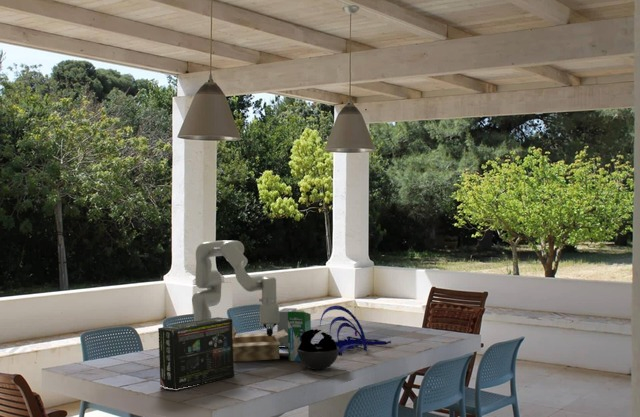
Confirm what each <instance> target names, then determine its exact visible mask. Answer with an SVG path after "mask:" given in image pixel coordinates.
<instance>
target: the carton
mask: <svg viewBox="0 0 640 417" xmlns="http://www.w3.org/2000/svg"><path fill="white" fill-rule="evenodd" d="M279 345H281V344H280V342H279V340H278V339H277V337H276V336H275V333H273V335H272V337H271V336H270V337H268V335H267V332H266V333H264V332H263V333H244V334H243V333H242V334H236V335H235V338H234V341H233V362H234V363H235V362H249V361H250V362H252V361H267V360H268V361H269V360H280V348H279Z"/></svg>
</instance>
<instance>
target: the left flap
mask: <svg viewBox="0 0 640 417" xmlns="http://www.w3.org/2000/svg"><path fill="white" fill-rule="evenodd" d="M235 335H237V330H236V328H235V326H233V325H232V336H233V341H234V338H235Z"/></svg>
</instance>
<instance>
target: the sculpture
mask: <svg viewBox="0 0 640 417" xmlns="http://www.w3.org/2000/svg"><path fill="white" fill-rule="evenodd" d="M332 310H333V311H334V310H337V311H343V312H344V313H347V314H348V315H349V316H350V317H351V318H352V319H353V321H354V322H355V323H356V325H357V327H358V329H357V327H356V326H355V324H354V323H352V321H350V320H349V319H348V318H347V317H345V316H336V317H335V318H333V319H332V320H331V321H330V324H329V325H330V326H329V332H331V330H332V326H333V324H335V323H336V322H338V321H343V322H342V323H340V325H339V326H338V328H337V330H336V331H337V332H336V337H337V341H335V344H336V346H337V347H339V353H338V356H339V355H341V356H342V355H343V353H344V351H345V350H348V349H349V350H351V349H353V350H354V349H355V347H359V346H360V347H363V351H365V352H367V351H368V346H367V345H371V346H376V345H378V346H386V345H388V344H392V340H387V341H385V340H380V339H375V338H374V339H370V338H366V336H365V333H364V330H363V327H362V325H361V324H360V322H359V320H358V319H357V317H356V316H355V315H354V314H353V313H352V312H351V311H350V310H349V309H348V308H346V307H344V306H342V305H331V306H328V307H327V308H326V309H324V311H323V312H322V314H321V317H320V321H319V326H322V325H321V323H322V320H323V317H324V315H325V314H326V313H327V312H329V311H332ZM342 328H351V329H353V330H354V335H355V337H352V336H349V335H348V336H346V338H344V339H340V337H339V336H340V331H341V330H342ZM319 336H320V337H321V336H322V334H321V333H319ZM358 336H359V337H358ZM320 340H322V338H320Z"/></svg>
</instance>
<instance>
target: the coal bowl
mask: <svg viewBox="0 0 640 417" xmlns="http://www.w3.org/2000/svg"><path fill="white" fill-rule="evenodd" d="M319 333H320V334H321V336H322V337H323V338H322V337H321V339H322V340H321V339H319V342H316V343H312V340H313V339H314V337H315V336H316V335H317V334H319ZM335 342H336V341H335V340H334V339H333V337H332V335H331V334H329V333H326V332H324V331H322V329H318V328H317V329H316V328H315V329H313V328H311V330H308V331H305V332H304V333H303V335H302V336H301V344H300V345H299V347H298V348H297V352H298V356H299V358H300V360H301V361H300V362H301V363H302V364H304V365H305V367H308V368H309V369H311V370H317V371H319V370H320V371H321V370H324V369H327V368H330V367H331V366H332V365H333V364H334V363H335V361H336V360H337V358H338V356H339V354H338V353H339V350H340V349H339V347H337V346H336V344H335Z"/></svg>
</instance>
